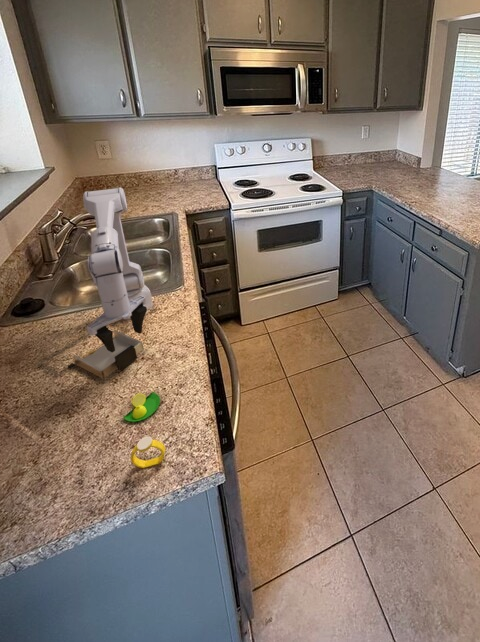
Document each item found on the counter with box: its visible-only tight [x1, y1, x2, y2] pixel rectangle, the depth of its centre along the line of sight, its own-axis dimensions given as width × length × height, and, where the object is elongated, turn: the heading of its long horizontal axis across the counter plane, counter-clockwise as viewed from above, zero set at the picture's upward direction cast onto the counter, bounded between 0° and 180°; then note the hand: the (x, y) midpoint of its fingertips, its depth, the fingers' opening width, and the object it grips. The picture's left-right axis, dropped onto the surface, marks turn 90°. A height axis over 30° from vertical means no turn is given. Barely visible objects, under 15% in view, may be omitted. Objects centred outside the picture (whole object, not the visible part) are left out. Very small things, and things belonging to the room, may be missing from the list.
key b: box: [81, 349, 96, 359], centre depth 100 cm, size 4×2×1 cm, turn 147°
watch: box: [130, 435, 166, 469], centre depth 71 cm, size 6×3×6 cm, turn 103°
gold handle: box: [67, 362, 76, 369], centre depth 101 cm, size 1×15×1 cm, turn 154°
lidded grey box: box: [72, 329, 144, 380], centre depth 98 cm, size 14×12×5 cm
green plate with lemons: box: [123, 391, 161, 422], centre depth 83 cm, size 8×8×3 cm
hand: (125, 340), depth 92 cm, fingers open, 7 cm apart
